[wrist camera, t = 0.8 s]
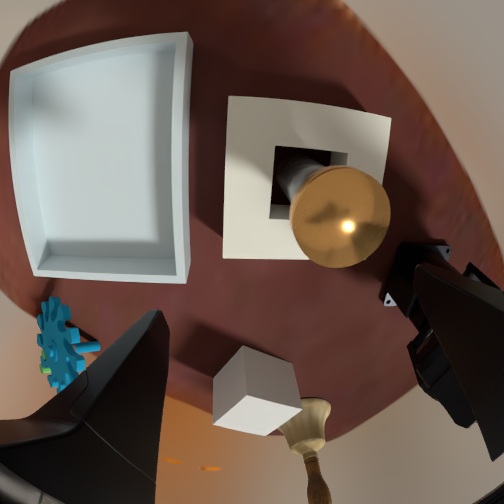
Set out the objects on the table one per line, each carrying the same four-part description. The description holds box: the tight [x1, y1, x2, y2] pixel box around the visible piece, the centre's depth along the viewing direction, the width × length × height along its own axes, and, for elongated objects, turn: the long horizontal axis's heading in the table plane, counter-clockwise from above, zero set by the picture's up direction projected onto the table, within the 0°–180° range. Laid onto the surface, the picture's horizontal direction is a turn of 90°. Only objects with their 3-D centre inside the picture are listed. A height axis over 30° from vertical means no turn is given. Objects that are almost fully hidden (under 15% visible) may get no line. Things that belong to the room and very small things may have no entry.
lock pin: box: [277, 154, 391, 268], centre depth 16 cm, size 4×4×9 cm
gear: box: [37, 297, 100, 394], centre depth 23 cm, size 11×6×10 cm
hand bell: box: [276, 398, 332, 504], centre depth 26 cm, size 8×8×16 cm
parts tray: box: [9, 32, 194, 284], centre depth 16 cm, size 13×16×3 cm
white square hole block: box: [223, 96, 391, 260], centre depth 18 cm, size 10×10×3 cm
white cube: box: [213, 345, 303, 436], centre depth 26 cm, size 6×6×6 cm
